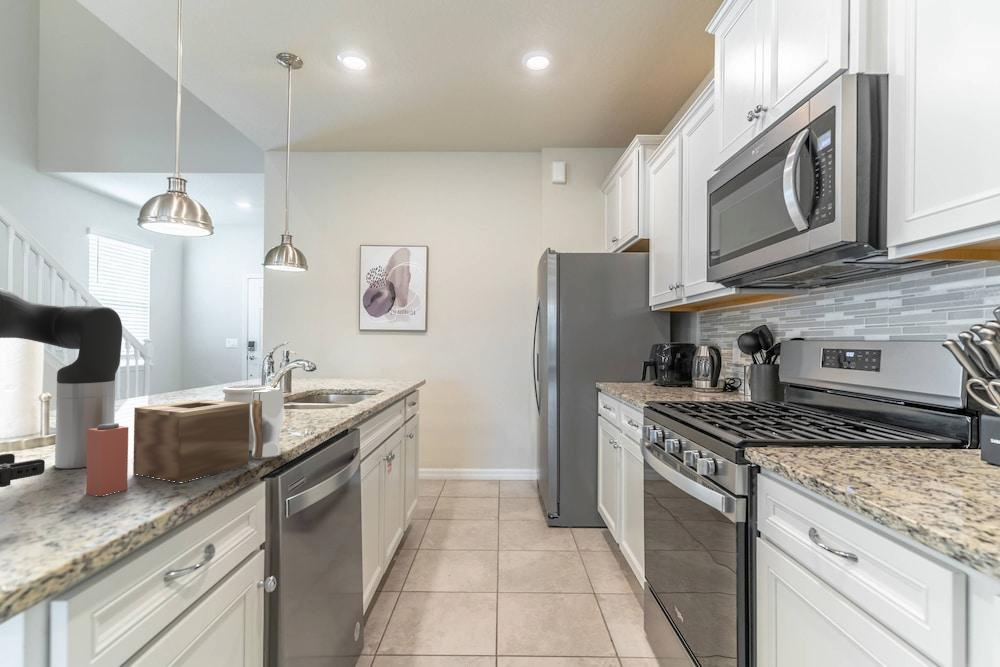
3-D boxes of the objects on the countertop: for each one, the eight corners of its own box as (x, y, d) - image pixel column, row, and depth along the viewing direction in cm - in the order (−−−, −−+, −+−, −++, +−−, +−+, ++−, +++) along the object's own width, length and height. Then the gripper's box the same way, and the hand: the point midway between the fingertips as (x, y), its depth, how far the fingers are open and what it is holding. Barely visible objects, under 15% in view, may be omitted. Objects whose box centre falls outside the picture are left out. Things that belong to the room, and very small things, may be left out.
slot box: (133, 474, 90) (134, 407, 90) (203, 457, 103) (204, 399, 103) (181, 483, 84) (182, 412, 85) (248, 464, 97) (249, 403, 97)
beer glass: (269, 460, 101) (270, 391, 101) (241, 458, 102) (242, 390, 102) (289, 453, 108) (290, 388, 108) (263, 451, 109) (264, 387, 109)
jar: (234, 444, 116) (235, 384, 116) (276, 443, 117) (277, 384, 118) (212, 454, 106) (213, 389, 106) (259, 453, 107) (260, 388, 107)
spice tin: (86, 494, 78) (87, 425, 79) (113, 487, 82) (114, 421, 82) (100, 497, 77) (101, 427, 77) (127, 490, 81) (128, 423, 81)
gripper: (-127, 468, 52) (55, 442, 67) (-173, 456, 58) (4, 434, 73) (-130, 535, 52) (53, 494, 67) (-176, 517, 58) (2, 482, 73)
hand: (27, 463), depth 70 cm, fingers open, 8 cm apart
